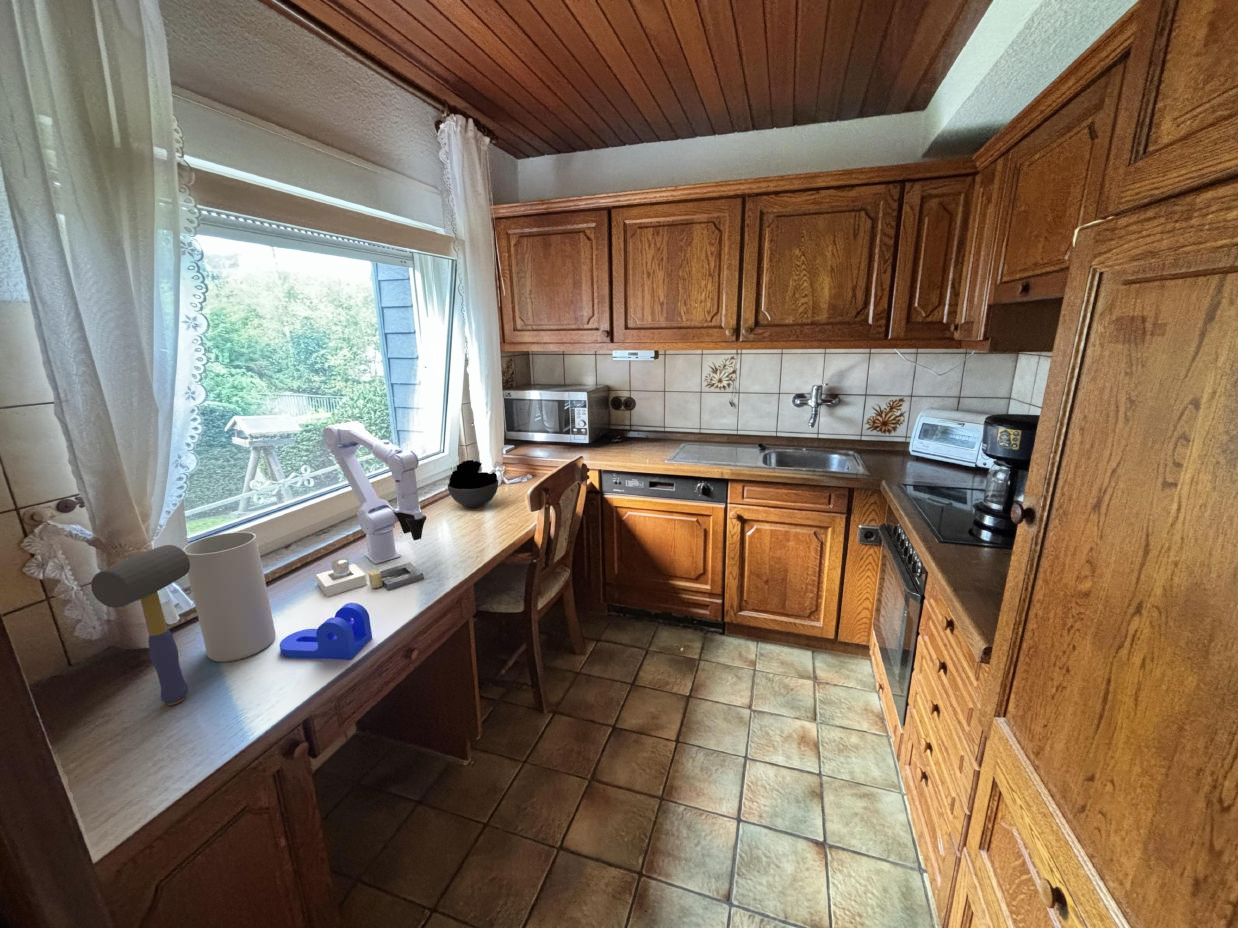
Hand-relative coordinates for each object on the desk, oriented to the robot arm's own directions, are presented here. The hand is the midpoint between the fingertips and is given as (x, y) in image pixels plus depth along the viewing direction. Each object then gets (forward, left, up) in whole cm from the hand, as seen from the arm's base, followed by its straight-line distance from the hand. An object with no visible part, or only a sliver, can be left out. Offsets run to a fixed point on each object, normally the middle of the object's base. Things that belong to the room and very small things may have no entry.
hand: (412, 535), depth 152 cm
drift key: (+6, -12, -9) cm, 16 cm away
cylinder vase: (+15, -45, -10) cm, 48 cm away
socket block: (+6, -7, -9) cm, 13 cm away
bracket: (+28, -32, -10) cm, 44 cm away
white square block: (-2, -20, -9) cm, 22 cm away
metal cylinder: (-2, -20, -9) cm, 22 cm away
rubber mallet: (+28, -57, -10) cm, 64 cm away
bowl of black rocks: (-39, +40, -10) cm, 57 cm away
